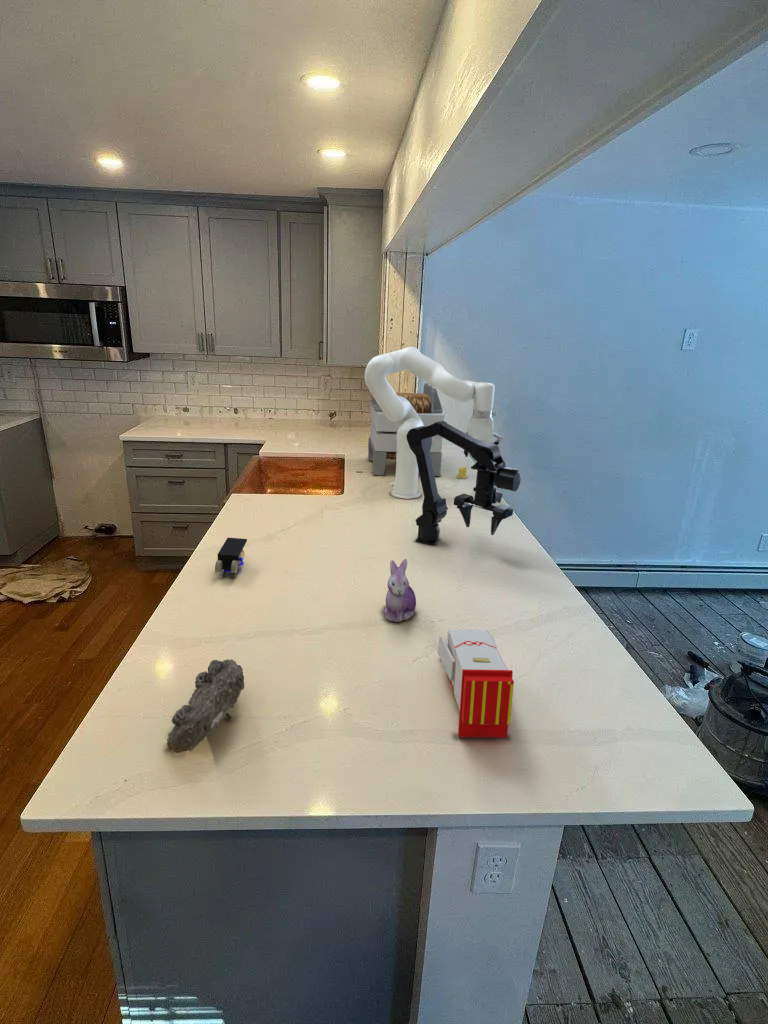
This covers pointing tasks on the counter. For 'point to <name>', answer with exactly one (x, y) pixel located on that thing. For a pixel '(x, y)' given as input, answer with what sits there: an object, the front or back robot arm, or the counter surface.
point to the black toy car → (230, 556)
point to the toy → (478, 682)
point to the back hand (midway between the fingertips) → (478, 456)
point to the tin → (462, 472)
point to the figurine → (399, 594)
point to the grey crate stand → (386, 431)
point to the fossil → (206, 705)
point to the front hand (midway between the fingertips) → (480, 530)
